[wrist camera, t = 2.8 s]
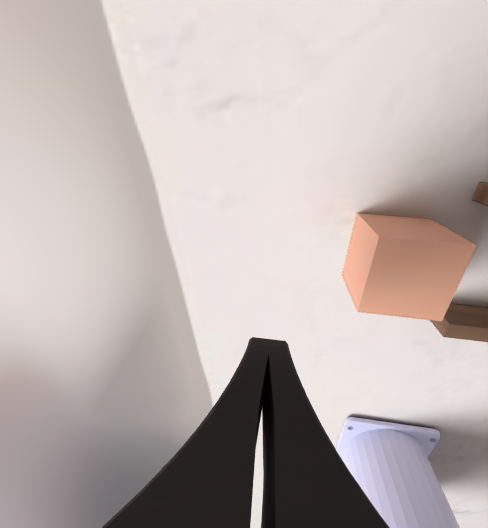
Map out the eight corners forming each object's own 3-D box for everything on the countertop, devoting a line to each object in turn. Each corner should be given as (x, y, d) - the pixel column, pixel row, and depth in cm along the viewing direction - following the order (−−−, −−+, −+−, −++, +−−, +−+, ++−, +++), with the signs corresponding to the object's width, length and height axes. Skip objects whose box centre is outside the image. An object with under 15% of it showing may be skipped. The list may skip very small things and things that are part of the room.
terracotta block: (407, 281, 19) (441, 321, 15) (341, 274, 19) (357, 311, 15) (430, 218, 17) (477, 245, 13) (356, 212, 17) (379, 236, 13)
